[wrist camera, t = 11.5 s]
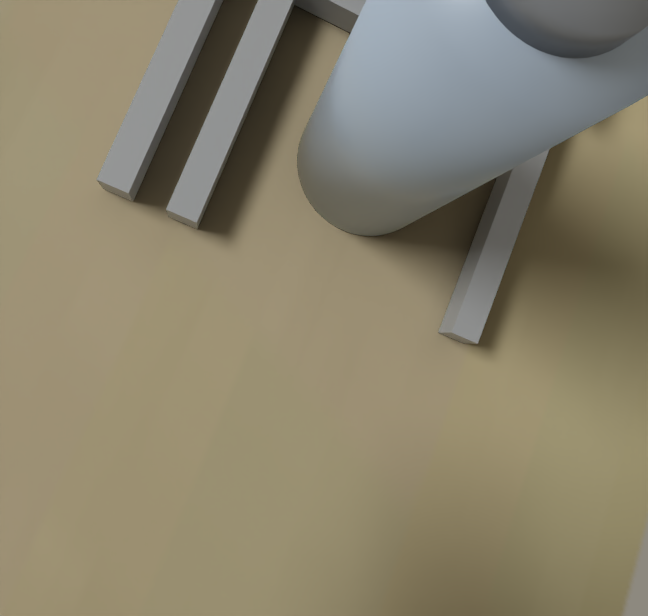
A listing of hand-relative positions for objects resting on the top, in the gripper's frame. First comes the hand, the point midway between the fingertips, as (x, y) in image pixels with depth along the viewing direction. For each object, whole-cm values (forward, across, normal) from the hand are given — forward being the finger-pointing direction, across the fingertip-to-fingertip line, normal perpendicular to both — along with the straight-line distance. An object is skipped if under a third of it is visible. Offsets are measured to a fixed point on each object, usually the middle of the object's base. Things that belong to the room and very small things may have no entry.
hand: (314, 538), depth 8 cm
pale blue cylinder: (+16, 0, -1) cm, 16 cm away
